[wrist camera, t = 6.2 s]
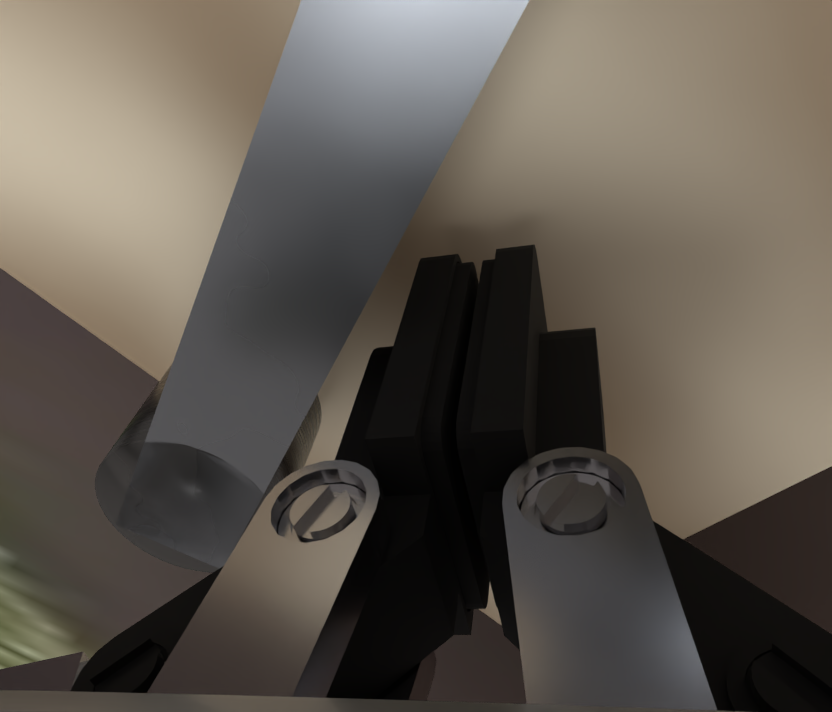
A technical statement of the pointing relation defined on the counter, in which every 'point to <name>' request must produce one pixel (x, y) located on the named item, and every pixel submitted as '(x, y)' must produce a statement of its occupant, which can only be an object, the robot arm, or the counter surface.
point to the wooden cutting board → (480, 207)
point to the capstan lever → (297, 262)
